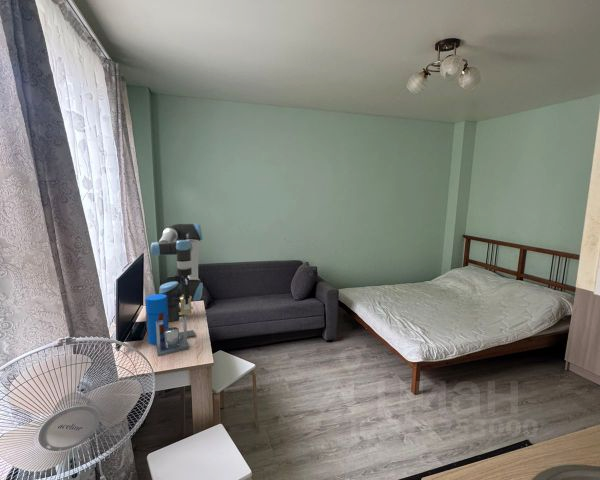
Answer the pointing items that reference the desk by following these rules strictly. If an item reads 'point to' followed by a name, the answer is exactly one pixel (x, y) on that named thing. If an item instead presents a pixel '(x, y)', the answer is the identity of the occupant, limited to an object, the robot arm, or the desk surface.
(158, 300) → the thermos
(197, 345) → the desk surface
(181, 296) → the brass cap
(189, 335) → the rubber mat
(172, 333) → the grey metal stand
